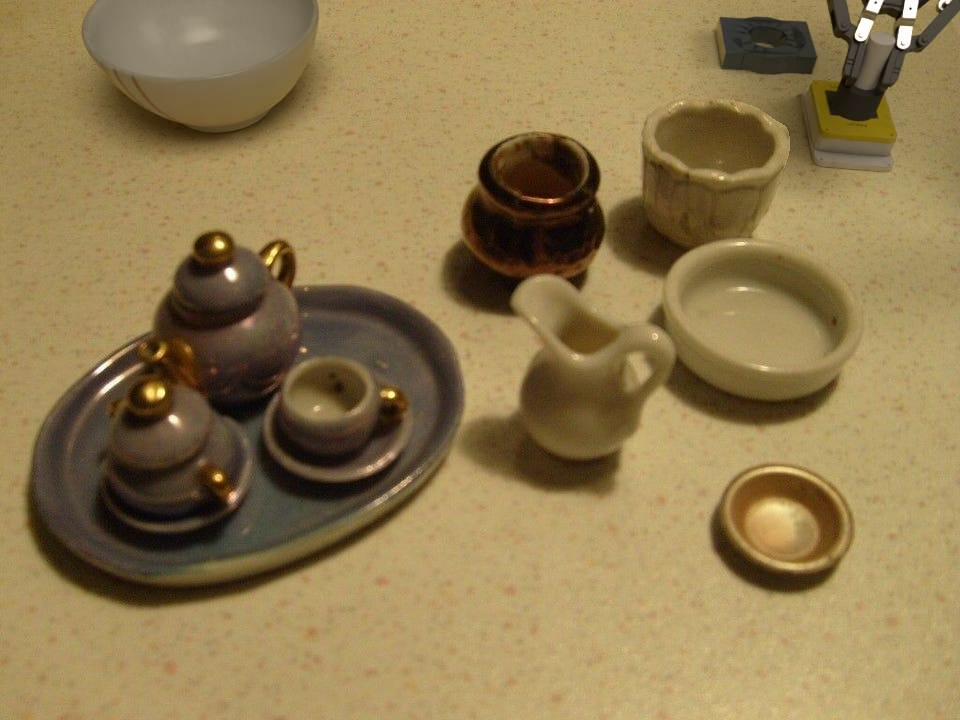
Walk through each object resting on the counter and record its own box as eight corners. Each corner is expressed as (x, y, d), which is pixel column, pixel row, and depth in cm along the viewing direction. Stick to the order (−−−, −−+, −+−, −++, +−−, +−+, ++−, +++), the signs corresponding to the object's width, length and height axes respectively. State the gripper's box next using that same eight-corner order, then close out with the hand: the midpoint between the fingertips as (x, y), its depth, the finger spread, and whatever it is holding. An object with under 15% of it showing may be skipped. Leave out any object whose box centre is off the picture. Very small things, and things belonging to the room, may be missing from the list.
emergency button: (885, 69, 108) (908, 142, 98) (872, 99, 111) (893, 172, 102) (810, 63, 108) (825, 135, 99) (799, 93, 112) (813, 165, 102)
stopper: (873, 99, 90) (904, 28, 83) (876, 124, 87) (909, 53, 81) (830, 94, 90) (857, 23, 84) (832, 118, 87) (861, 47, 81)
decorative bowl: (89, 171, 100) (51, 80, 90) (141, 46, 117) (113, -43, 107) (320, 170, 100) (306, 79, 91) (338, 46, 117) (327, -42, 108)
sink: (800, 35, 121) (806, 18, 119) (812, 76, 114) (818, 59, 112) (714, 30, 121) (718, 14, 119) (721, 71, 115) (726, 54, 113)
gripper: (852, -124, 80) (800, 63, 82) (1011, -100, 77) (952, 92, 79) (837, -89, 87) (789, 82, 89) (981, -66, 84) (928, 109, 87)
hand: (866, 86), depth 84 cm, fingers closed on stopper, 2 cm apart
